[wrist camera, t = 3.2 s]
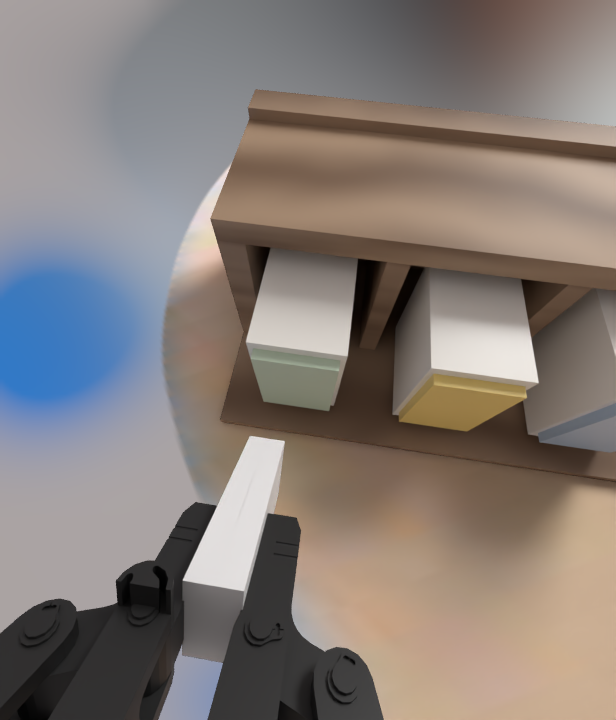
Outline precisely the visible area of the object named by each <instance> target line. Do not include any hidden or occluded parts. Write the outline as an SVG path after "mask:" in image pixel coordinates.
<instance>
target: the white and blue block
mask: <svg viewBox="0 0 616 720" xmlns="http://www.w3.org/2000/svg"><path fill="white" fill-rule="evenodd" d="M531 340H532V346H533V352H534V358H535V364H536V369H537V375H538V381H539V383H538V384H536V385H535V386H533V387H531V388H530V389H528V390H526V395H527V398H526V399H524V400H523V404H524V411H525V417H526V424H527V431H528V434H529V435H536V436H538V437H539V442H541V443H548V444H555V445H561V446H568V447H575V448H582V449H588V450H595V451H602V452H609V453H611V452H615V451H616V291H614V290H606V289H598V288H593V289H591V290H590V291H589V292H588V293H586V294H585V295H584V296H583V297H582V298H580V299H579V300H578V301H577V302H575V303H574V304H573V305H572V306H570V307H569V308H568V309H567V310H565V311H564V312H563V313H562V314H560V315H559V316H558V317H557V318H555V319H554V320H553V321H552V322H551V323H549V324H548V325H547V326H546V327H544V328H543V329H542V330H541V331H539V332H538V333H537V334H536V335H534V336H533V337H532V338H531Z"/></svg>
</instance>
